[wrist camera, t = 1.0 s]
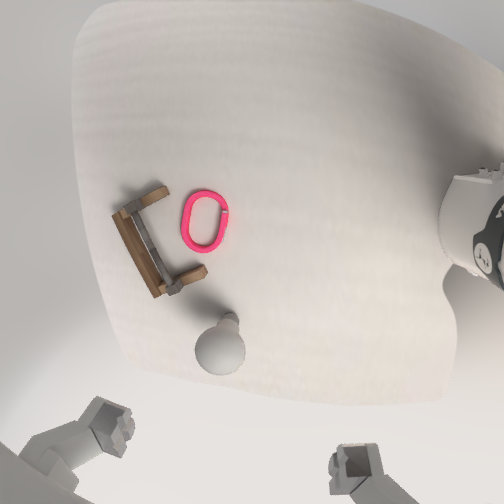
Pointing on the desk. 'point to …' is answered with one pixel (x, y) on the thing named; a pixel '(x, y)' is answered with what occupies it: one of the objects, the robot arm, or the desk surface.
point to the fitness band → (186, 219)
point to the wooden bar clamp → (151, 249)
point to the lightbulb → (221, 347)
